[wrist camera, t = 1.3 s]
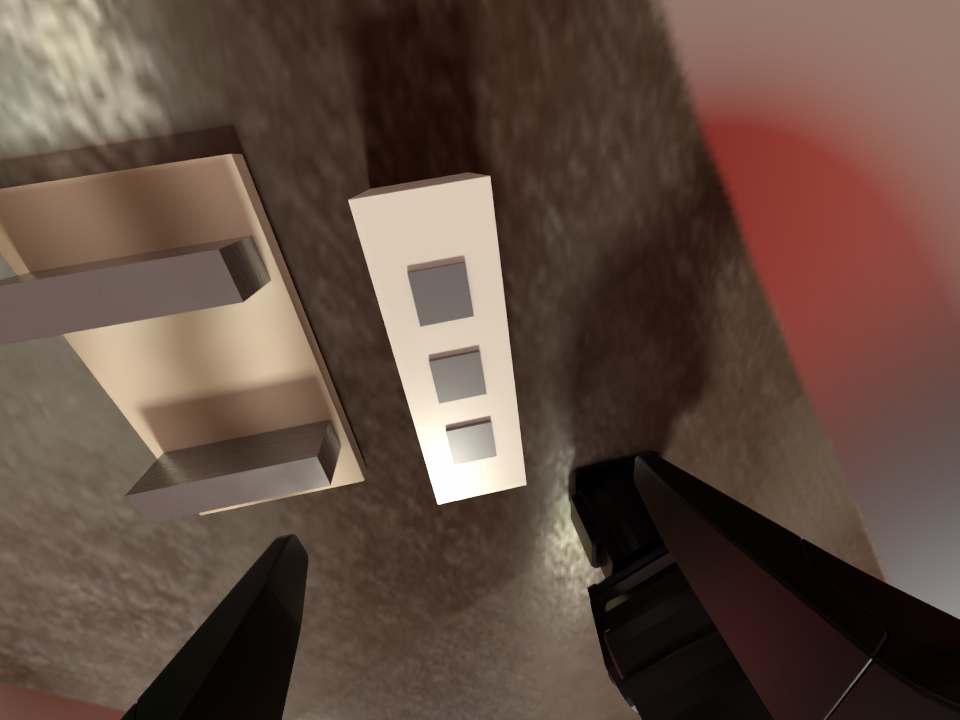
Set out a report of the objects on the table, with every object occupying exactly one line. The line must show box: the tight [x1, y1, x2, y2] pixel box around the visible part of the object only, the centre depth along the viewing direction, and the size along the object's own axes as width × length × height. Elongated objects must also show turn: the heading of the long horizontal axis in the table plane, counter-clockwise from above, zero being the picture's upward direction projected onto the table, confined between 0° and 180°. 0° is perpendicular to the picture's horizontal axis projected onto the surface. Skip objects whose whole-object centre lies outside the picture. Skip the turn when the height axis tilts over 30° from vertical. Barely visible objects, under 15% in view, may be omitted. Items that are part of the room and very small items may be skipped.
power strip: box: [348, 172, 526, 504], centre depth 17 cm, size 4×14×6 cm, turn 9°
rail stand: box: [0, 154, 367, 523], centre depth 17 cm, size 10×18×4 cm, turn 8°
